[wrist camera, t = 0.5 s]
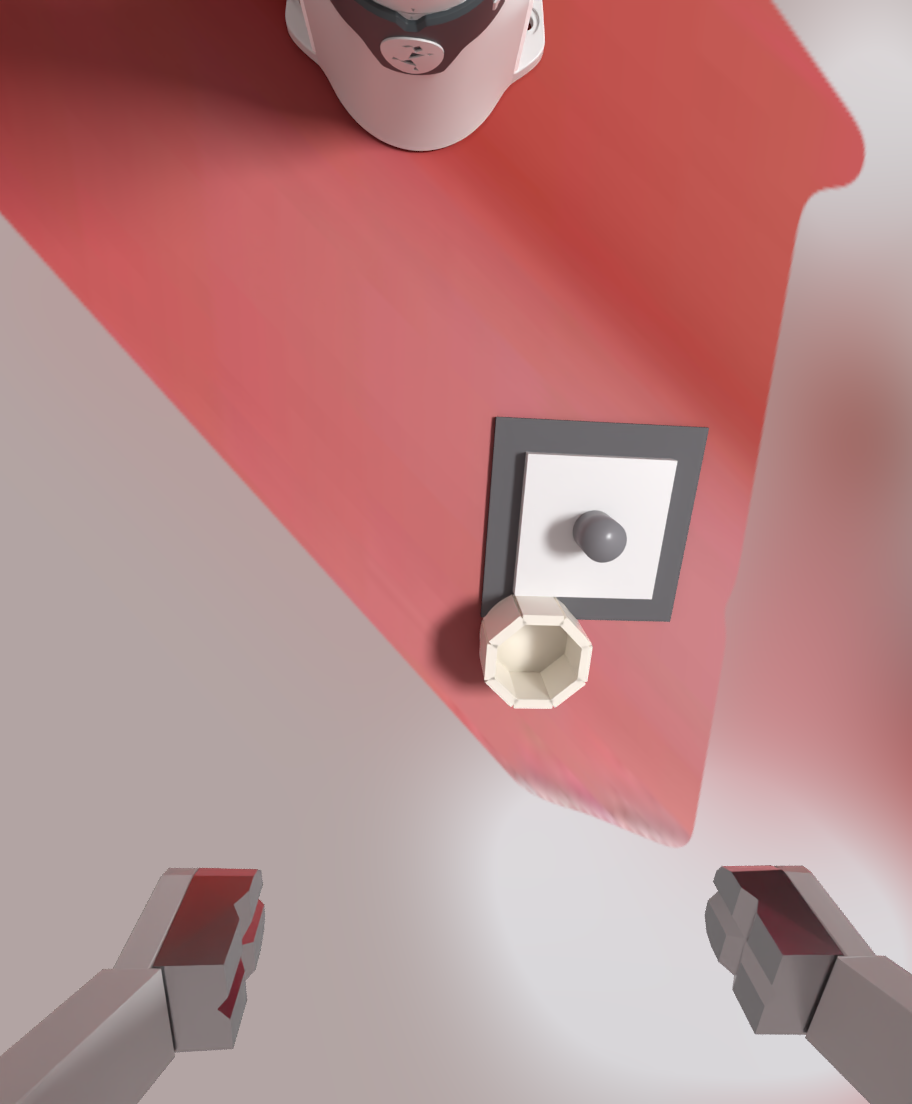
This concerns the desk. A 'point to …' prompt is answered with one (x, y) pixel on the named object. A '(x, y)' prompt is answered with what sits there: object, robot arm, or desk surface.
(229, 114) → the desk surface
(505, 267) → the desk surface
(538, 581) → the cover
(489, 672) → the bowl
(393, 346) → the desk surface
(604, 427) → the mat
